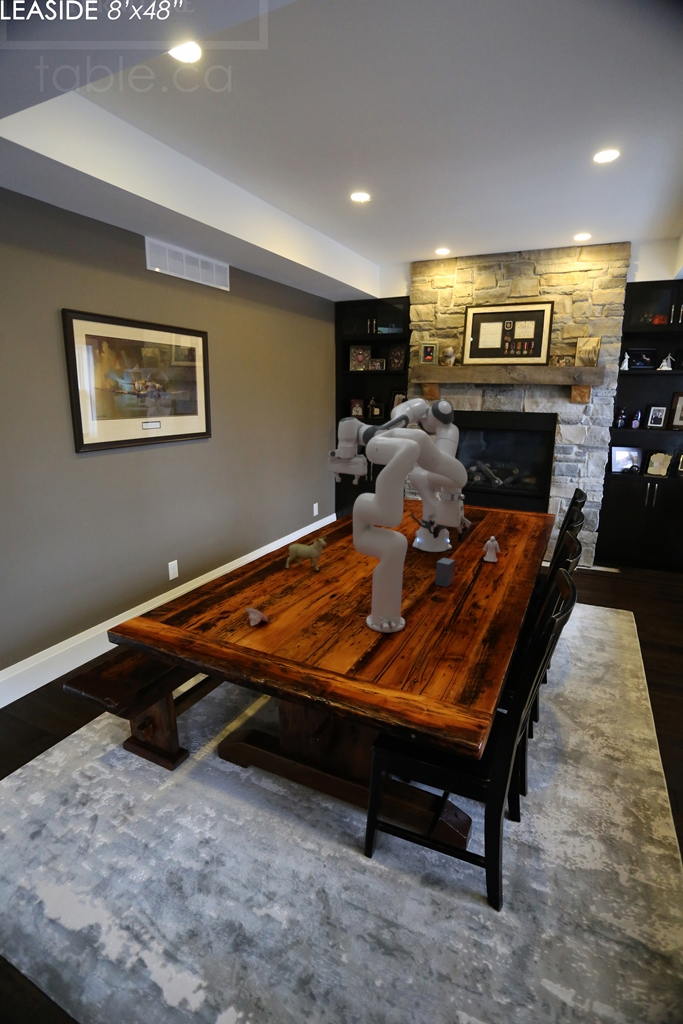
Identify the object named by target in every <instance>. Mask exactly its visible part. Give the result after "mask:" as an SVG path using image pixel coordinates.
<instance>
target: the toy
mask: <svg viewBox="0 0 683 1024" xmlns="http://www.w3.org/2000/svg"><path fill="white" fill-rule="evenodd" d="M325 540H327V536H323V537H321V538H315V540H314V542H313V544H311V545H306V544H302V543H292V544H290V545H289V546H288V553H289V557H288V556H287V558H286V564H285V569H286V570H290V562H292V561H295V562H296V563H297V564H298V566H300V567H302V566H303V564H302V563H303V562H302V561H300V560H310V563H309V567H310V568H314V567H315V571H316V572H320V571H321V570H320V568H319V567H318V560H319V559H320V558H321V557H322V555H323V553H322V552H323V547H327V546H328V544H327V542H326V541H325ZM299 559H300V560H299Z"/></svg>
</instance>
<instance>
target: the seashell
mask: <svg viewBox="0 0 683 1024" xmlns="http://www.w3.org/2000/svg"><path fill="white" fill-rule="evenodd" d="M245 611H246V614H248V615H249V616H248V619H249V625H250V626H251V627H253V626H256V625H258V624H259V623H260V622H261V621H265V622H269V618H268V616H267V615H266V614H264V613H263V612H261V611H260V610H259V609H256V608H253V607H245Z"/></svg>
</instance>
